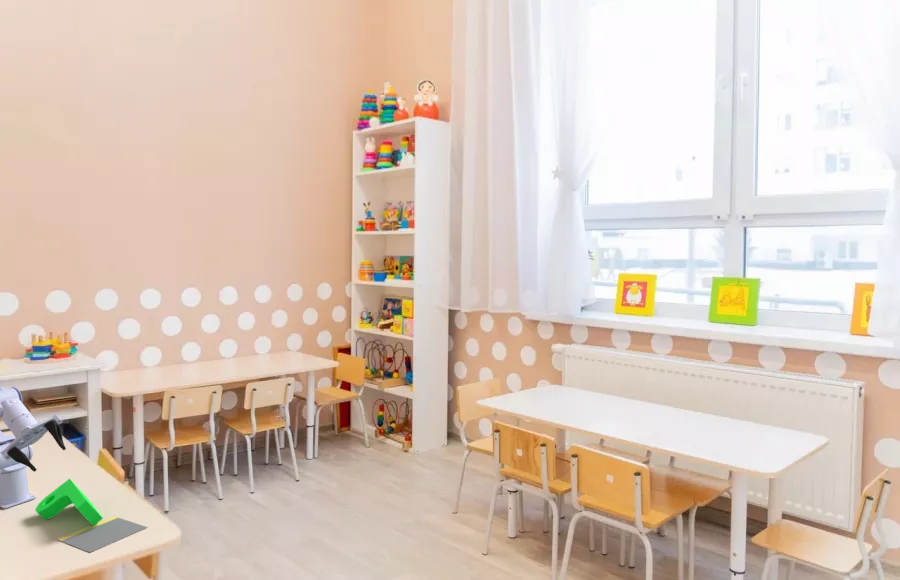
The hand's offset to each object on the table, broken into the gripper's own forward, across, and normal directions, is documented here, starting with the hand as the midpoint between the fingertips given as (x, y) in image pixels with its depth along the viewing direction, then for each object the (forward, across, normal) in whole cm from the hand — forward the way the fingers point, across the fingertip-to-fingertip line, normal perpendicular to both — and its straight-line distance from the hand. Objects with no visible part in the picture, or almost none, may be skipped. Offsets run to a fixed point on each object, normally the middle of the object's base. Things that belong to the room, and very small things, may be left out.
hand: (48, 458), depth 170 cm
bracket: (+14, -5, +7) cm, 16 cm away
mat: (+25, -1, +1) cm, 25 cm away
